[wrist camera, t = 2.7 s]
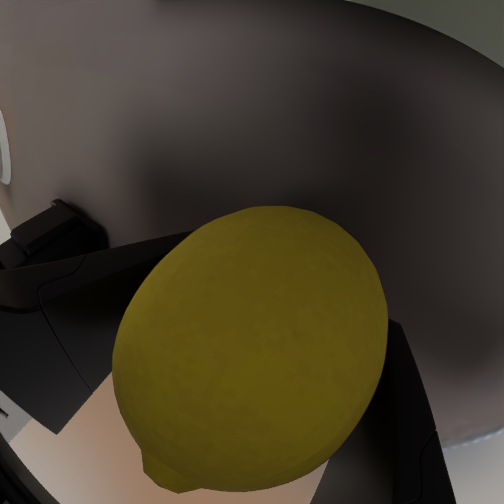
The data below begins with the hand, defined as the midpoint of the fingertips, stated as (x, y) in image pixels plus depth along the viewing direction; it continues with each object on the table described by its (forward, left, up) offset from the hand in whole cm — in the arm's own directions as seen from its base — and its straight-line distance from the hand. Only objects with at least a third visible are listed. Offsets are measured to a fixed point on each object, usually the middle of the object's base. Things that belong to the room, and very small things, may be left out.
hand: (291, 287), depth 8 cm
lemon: (0, 0, -2) cm, 2 cm away
